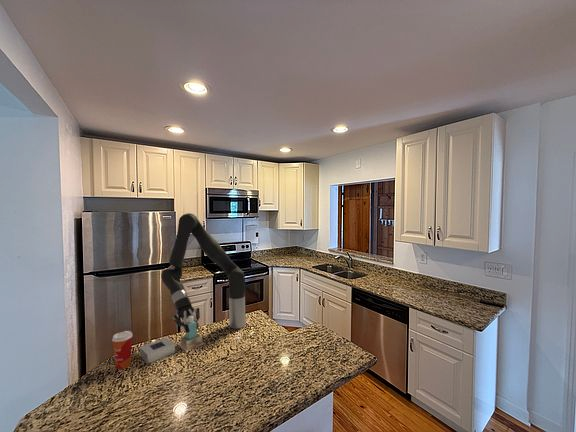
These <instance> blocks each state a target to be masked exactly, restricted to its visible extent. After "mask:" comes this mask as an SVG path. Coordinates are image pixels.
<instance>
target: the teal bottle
mask: <svg viewBox="0 0 576 432" xmlns="http://www.w3.org/2000/svg"><path fill="white" fill-rule="evenodd" d="M186 322H187V325H188V328H189V330H190V332H189V333H187V332H185V331H184V332H185V335H186V339H187V340H188V341H189V340H192V339H194V338H197V334H198V329H197V322H198V321H197V322H195V321H194V317H193V316H188V318H187V321H186Z"/></svg>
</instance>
